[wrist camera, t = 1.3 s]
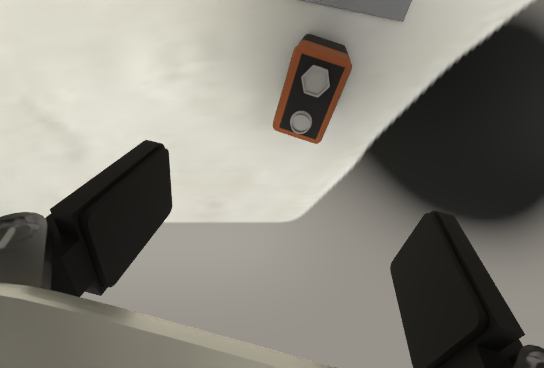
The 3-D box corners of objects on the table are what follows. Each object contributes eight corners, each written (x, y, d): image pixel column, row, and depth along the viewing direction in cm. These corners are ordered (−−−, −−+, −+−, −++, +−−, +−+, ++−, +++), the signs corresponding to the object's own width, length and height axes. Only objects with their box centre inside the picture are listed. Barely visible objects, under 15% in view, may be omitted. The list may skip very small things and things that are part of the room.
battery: (347, 46, 26) (356, 65, 17) (322, 111, 30) (319, 151, 21) (305, 32, 26) (293, 44, 17) (285, 99, 29) (268, 134, 21)
